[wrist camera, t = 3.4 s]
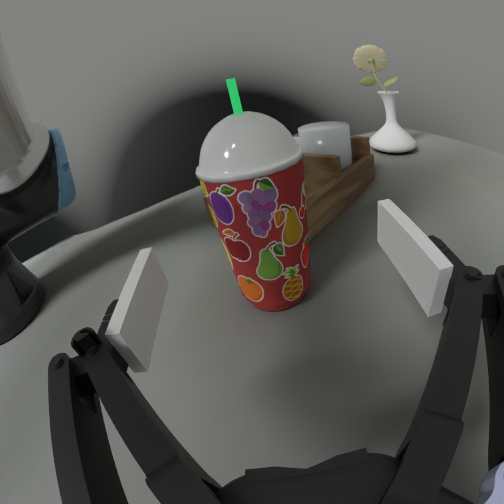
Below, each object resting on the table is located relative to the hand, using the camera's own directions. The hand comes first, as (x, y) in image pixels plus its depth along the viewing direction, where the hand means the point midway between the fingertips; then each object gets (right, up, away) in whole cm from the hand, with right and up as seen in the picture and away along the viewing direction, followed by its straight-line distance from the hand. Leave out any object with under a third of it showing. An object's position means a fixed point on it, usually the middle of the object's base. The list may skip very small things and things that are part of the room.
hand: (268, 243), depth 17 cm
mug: (+11, +12, +31) cm, 35 cm away
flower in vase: (+31, +23, +44) cm, 58 cm away
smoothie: (+2, -5, +13) cm, 14 cm away
